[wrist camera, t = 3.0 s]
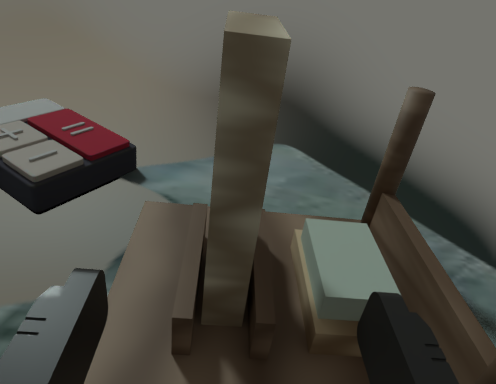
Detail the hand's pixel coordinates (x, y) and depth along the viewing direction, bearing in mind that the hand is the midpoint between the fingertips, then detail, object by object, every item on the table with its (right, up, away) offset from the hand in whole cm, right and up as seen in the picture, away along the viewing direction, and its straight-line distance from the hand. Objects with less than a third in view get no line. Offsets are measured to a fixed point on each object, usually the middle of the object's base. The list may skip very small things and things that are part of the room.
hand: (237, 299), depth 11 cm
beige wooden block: (-1, -3, +13) cm, 13 cm away
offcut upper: (+6, -2, +13) cm, 14 cm away
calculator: (-20, +6, +27) cm, 34 cm away
